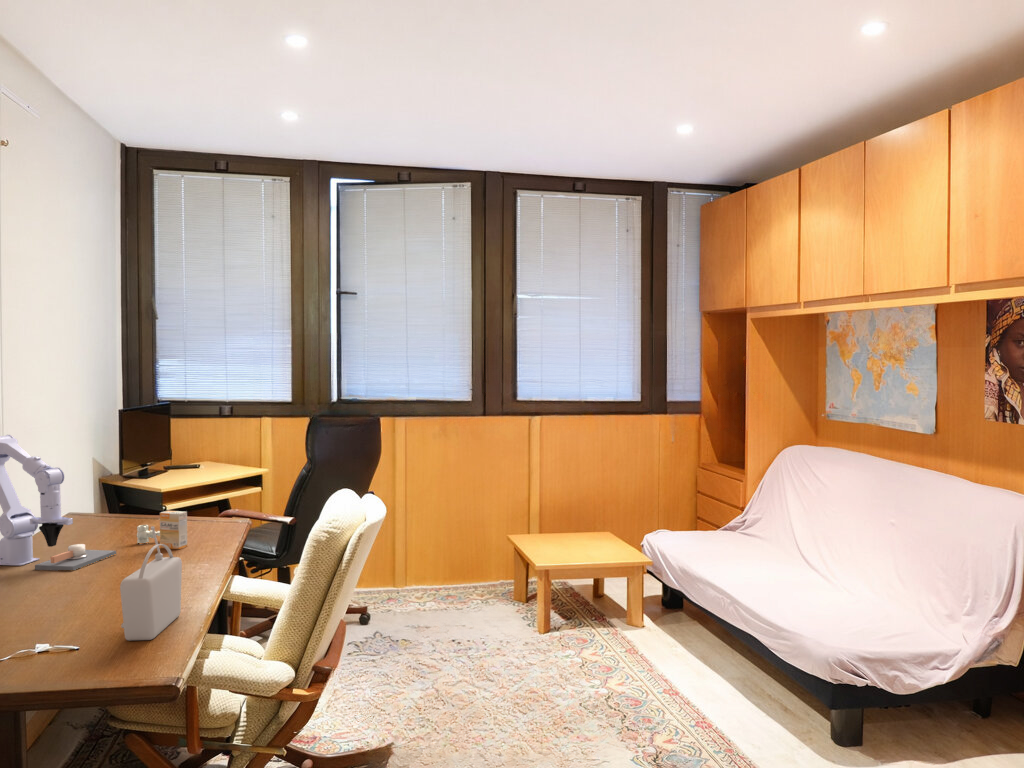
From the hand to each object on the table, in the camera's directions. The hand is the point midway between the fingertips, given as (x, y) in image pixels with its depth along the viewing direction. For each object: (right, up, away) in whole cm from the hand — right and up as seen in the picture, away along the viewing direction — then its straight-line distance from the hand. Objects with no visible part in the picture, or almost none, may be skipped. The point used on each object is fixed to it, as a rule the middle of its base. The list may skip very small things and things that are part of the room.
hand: (52, 545), depth 242 cm
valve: (+19, -6, +31) cm, 37 cm away
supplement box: (+30, -6, +23) cm, 38 cm away
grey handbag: (+62, -8, -59) cm, 86 cm away
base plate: (+6, -6, +4) cm, 10 cm away
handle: (+5, -4, 0) cm, 6 cm away
